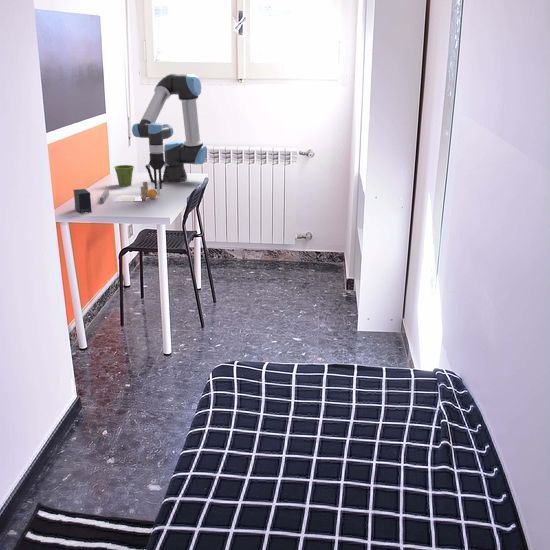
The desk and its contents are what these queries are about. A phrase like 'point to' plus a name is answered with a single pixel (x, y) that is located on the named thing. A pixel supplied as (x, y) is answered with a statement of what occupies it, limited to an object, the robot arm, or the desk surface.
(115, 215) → the desk surface
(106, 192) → the stopper wall
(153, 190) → the ball
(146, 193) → the post
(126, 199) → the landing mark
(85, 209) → the small box
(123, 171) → the plant pot
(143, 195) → the post
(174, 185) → the desk surface
